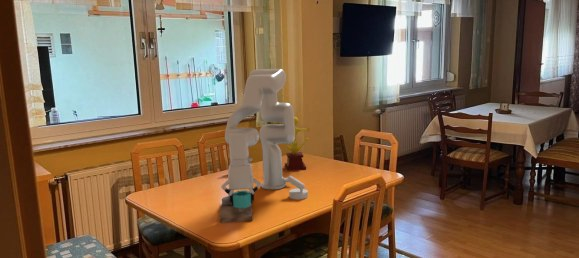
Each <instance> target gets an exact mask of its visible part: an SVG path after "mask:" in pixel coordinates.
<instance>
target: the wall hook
mask: <svg viewBox="0 0 579 258" xmlns="http://www.w3.org/2000/svg"><path fill="white" fill-rule="evenodd" d="M286 178H287V181H288V182H287V183H289V184H291V185H292V186H294V187H296V188H292V189H290V190H289V192H288V193H289V198H290V199H292V200H305V199H308V197H309V194H308V193H309V191H308V190H307V189H305V188H306V185H305V183H304V182H302V181H300V180H298V179H297V178H296V177H294V176H292V175H289V176H288V177H286Z"/></svg>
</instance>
